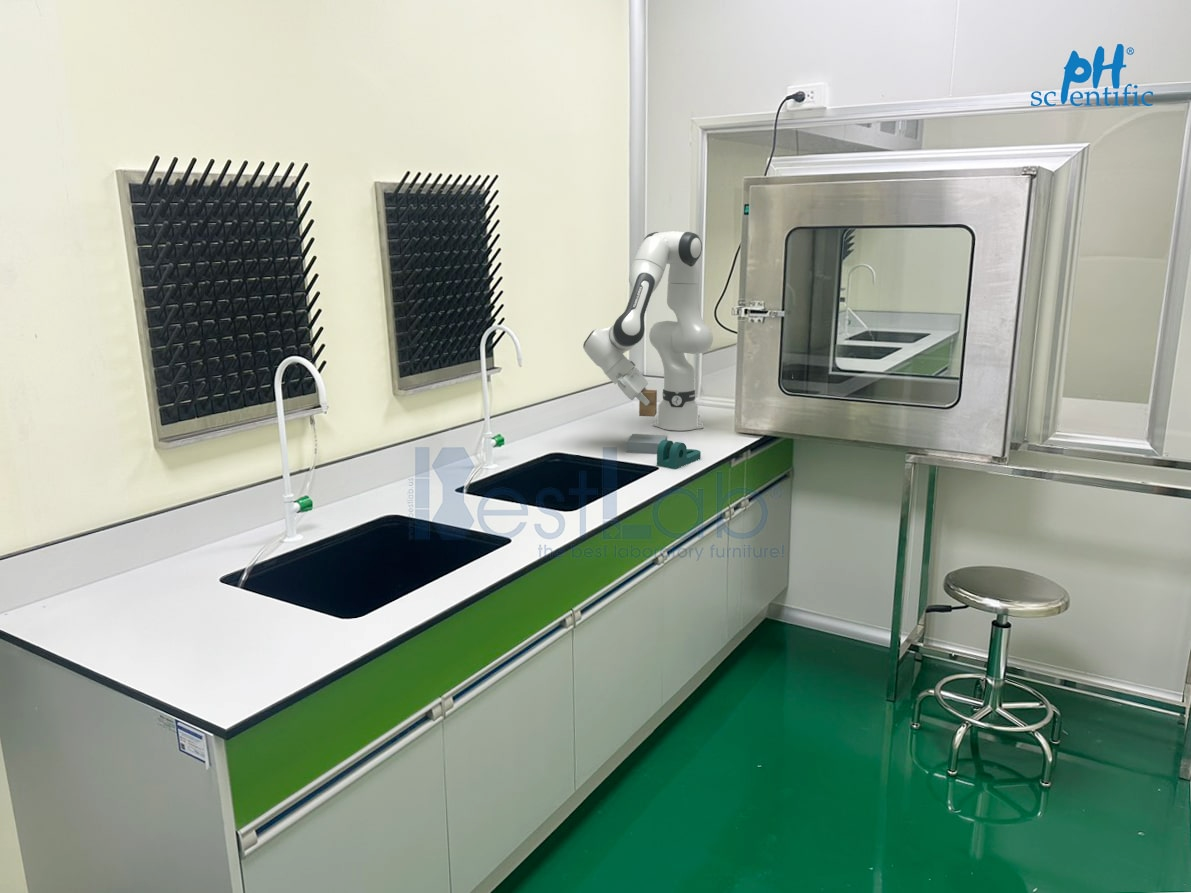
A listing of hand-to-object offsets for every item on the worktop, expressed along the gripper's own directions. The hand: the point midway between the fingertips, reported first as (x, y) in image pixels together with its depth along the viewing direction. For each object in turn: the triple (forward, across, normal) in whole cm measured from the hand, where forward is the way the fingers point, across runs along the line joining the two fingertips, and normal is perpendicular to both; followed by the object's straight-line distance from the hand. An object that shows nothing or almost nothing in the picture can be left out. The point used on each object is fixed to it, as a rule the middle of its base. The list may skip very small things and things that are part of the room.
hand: (650, 401), depth 287 cm
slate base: (+11, 0, +12) cm, 17 cm away
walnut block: (+3, 0, +4) cm, 4 cm away
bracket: (+20, -13, +3) cm, 25 cm away
